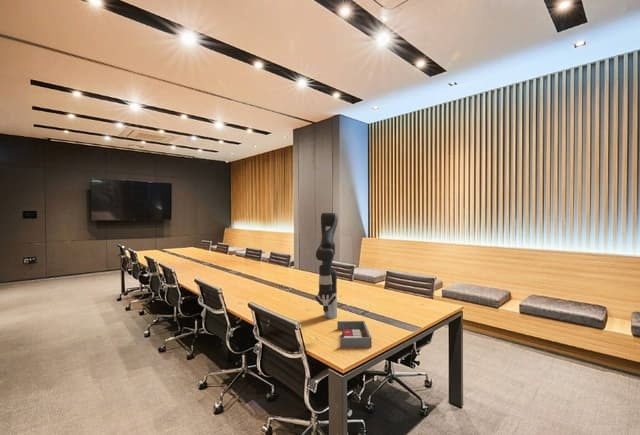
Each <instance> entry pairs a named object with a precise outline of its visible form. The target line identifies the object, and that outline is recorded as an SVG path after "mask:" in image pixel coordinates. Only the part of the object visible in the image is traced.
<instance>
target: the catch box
mask: <svg viewBox="0 0 640 435" xmlns="http://www.w3.org/2000/svg"><path fill="white" fill-rule="evenodd" d="M336 324H337V328H336V329H337V330H338V331H341V330H363V333H364V336H365V337H363V336H362V337H357V338H343V337H339V343H340V344H339V346H340V347H339V348H341V349H342V348H347V349H348V348H372V344H373V342H372V336H371V334H370V330H369V329H368V327H367V324H366V321H365V320H338V321H337V323H336Z"/></svg>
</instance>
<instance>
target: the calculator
mask: <svg viewBox="0 0 640 435" xmlns="http://www.w3.org/2000/svg"><path fill="white" fill-rule="evenodd" d="M341 335H342V336H341V338H357V337H363V335H362V331H361V329H353V330H342V334H341Z"/></svg>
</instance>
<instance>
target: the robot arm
mask: <svg viewBox="0 0 640 435" xmlns="http://www.w3.org/2000/svg"><path fill="white" fill-rule="evenodd" d="M338 218H339V217H338V214H337V213H336V212H322V213H321V214H320V228H321V238H320V239H321V240H320V245H319V246H318V248H317V249H316V252H315V258H316V259H317V261H321V264H320V265H318V266H319V267H318V274H319V275H318V293H317V294H316V295H315V296H314V299H315V300H316V301H317V302H318V304H319V305H320V306H322V307H323V308H322V310H323V317H324V318H325V319H336V318H338V300H337V299H338V288H337V286H338V285H337V282H338V273H337V272H338V271H337V270H336V269H332V265H333V264H332V263H333V260H334V257H335V255H336V244H335V242H334V235H335V233H336V230H337V227H338V221H339V219H338ZM327 227H329V228H328V229H327ZM321 300H322V301H321Z"/></svg>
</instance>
